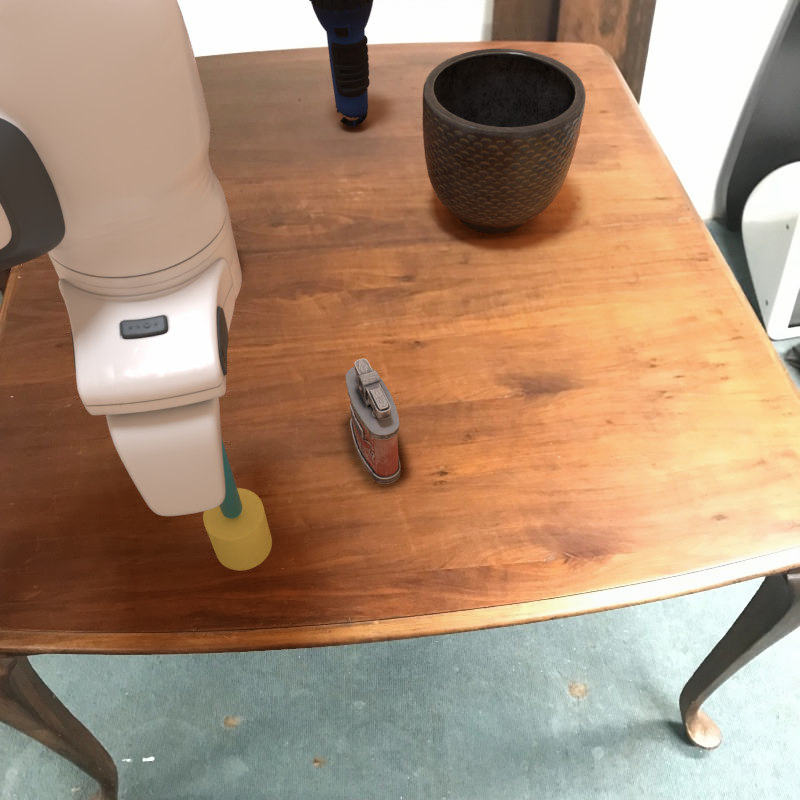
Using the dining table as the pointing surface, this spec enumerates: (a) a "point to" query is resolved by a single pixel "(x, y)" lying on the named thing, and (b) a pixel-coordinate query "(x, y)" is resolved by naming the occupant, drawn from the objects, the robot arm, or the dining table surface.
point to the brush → (238, 526)
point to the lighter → (373, 422)
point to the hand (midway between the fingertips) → (204, 425)
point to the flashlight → (347, 54)
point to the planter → (500, 134)
